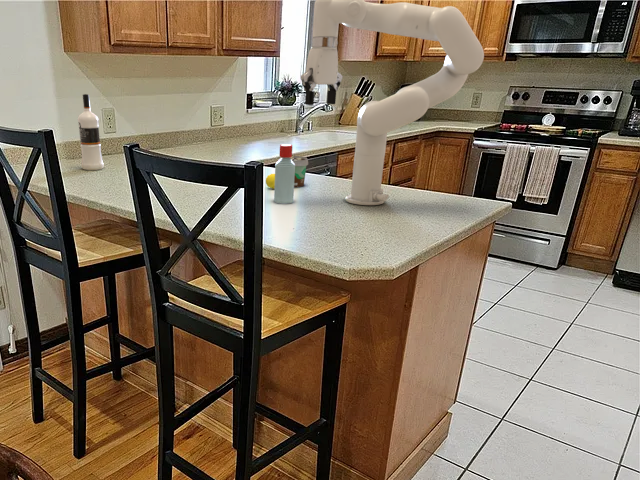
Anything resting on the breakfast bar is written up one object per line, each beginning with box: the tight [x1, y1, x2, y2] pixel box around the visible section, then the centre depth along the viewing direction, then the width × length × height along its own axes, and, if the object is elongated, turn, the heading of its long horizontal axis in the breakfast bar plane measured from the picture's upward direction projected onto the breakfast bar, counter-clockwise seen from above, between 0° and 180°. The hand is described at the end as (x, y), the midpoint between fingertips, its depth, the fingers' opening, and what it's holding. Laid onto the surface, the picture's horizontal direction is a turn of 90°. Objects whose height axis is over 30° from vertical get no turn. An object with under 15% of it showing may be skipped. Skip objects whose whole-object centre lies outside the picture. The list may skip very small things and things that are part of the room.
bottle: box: [273, 157, 295, 205], centre depth 171 cm, size 6×6×18 cm
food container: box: [291, 155, 309, 188], centre depth 197 cm, size 12×6×10 cm, turn 168°
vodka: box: [77, 93, 105, 171], centre depth 220 cm, size 9×9×30 cm
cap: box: [278, 143, 293, 158], centre depth 168 cm, size 4×4×4 cm
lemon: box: [265, 173, 275, 190], centre depth 192 cm, size 7×5×5 cm
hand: (320, 104), depth 166 cm, fingers open, 9 cm apart
